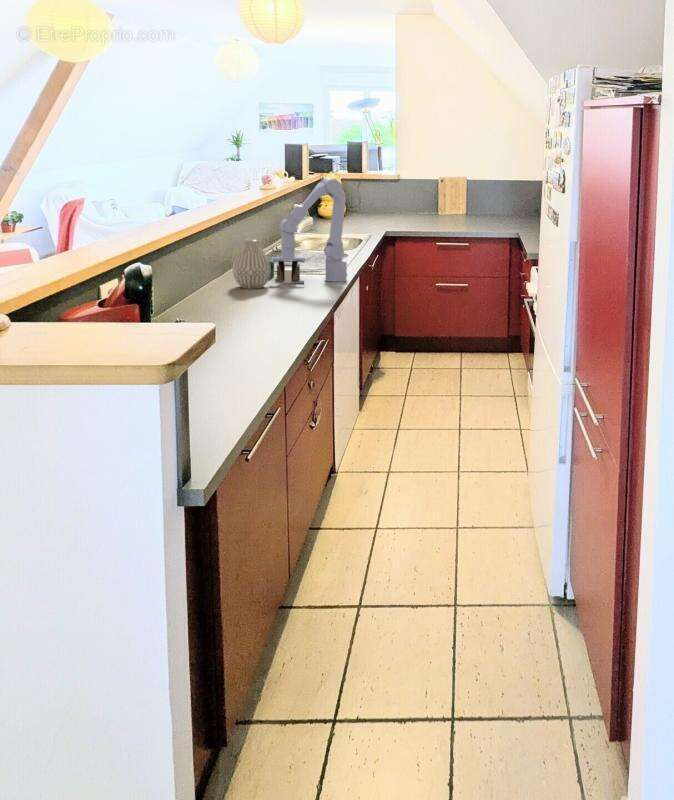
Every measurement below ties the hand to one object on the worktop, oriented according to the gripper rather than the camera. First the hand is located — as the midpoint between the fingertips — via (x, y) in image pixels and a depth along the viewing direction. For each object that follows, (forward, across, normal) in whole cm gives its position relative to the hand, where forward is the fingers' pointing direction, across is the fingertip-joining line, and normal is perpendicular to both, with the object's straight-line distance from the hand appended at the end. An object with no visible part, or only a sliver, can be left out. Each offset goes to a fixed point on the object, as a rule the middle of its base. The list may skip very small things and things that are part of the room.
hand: (288, 278), depth 428 cm
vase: (+2, +15, +13) cm, 20 cm away
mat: (+1, -4, +2) cm, 5 cm away
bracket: (+2, +12, -8) cm, 15 cm away
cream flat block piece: (+1, 0, -4) cm, 4 cm away
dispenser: (+1, 0, -9) cm, 10 cm away
